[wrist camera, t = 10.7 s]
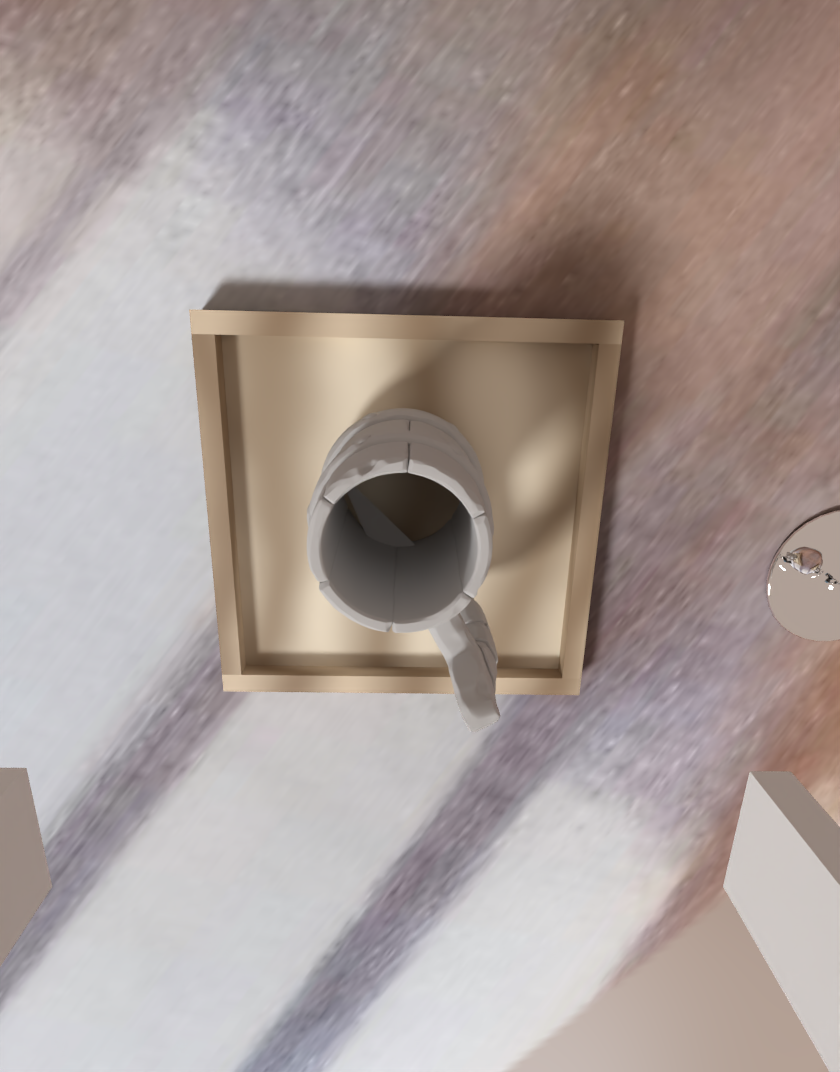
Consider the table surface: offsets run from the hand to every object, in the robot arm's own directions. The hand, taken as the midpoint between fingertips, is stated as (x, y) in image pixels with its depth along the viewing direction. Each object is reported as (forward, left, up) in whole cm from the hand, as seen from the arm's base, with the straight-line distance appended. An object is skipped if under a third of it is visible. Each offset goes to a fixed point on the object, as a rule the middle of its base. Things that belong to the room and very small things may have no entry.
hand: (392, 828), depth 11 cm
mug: (+1, 0, -20) cm, 20 cm away
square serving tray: (0, 0, -21) cm, 21 cm away
